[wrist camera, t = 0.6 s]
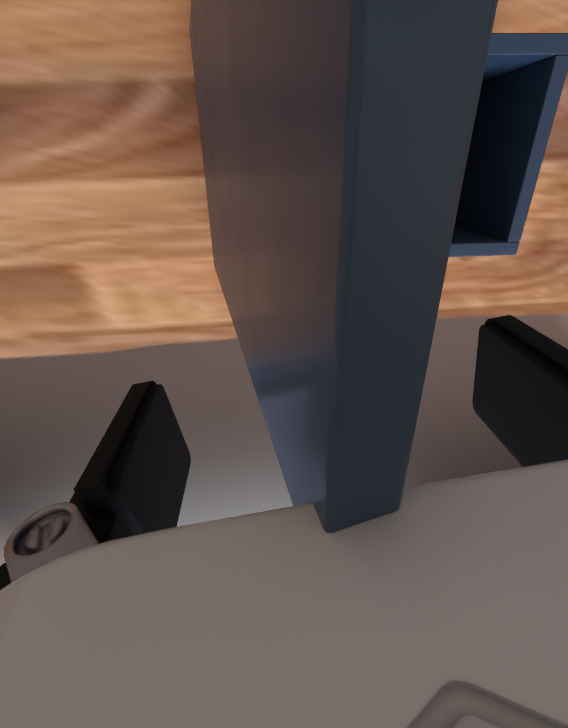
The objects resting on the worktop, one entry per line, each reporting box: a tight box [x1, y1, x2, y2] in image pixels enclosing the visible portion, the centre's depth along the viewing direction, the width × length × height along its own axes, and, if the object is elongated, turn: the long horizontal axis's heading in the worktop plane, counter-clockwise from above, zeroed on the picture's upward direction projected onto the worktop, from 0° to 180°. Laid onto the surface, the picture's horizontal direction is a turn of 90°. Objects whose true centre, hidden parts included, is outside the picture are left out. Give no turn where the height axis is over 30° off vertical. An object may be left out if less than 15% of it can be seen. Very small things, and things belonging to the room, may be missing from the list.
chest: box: [448, 33, 568, 257], centre depth 20 cm, size 15×9×8 cm, turn 91°
